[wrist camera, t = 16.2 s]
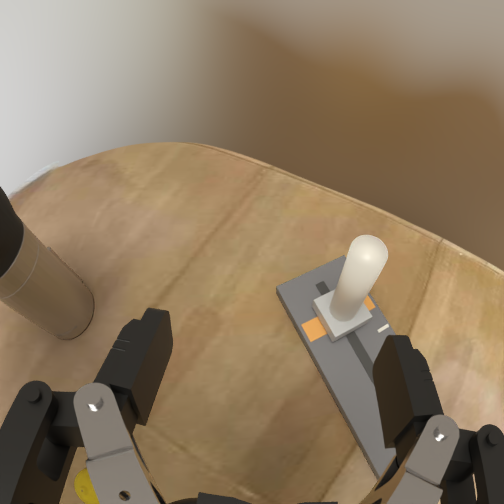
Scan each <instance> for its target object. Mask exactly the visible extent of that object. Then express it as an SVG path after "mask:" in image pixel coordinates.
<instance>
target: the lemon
mask: <svg viewBox="0 0 504 504" xmlns="http://www.w3.org/2000/svg"><path fill="white" fill-rule="evenodd" d="M74 487H75V491H76V493H77V495H78V497H79V498H80V499H81V500H82V501H83V502H84V503H86V504H100V503H99V500H98V498H97V495H96V493H95V490H94V487H93V485H92V482H91V479H90V476H89V473H88V470H87V468H85V469H83V470H82V471H80V472H79V473H78V474H77V476H76V478H75V481H74Z"/></svg>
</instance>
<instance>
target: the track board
mask: <svg viewBox="0 0 504 504" xmlns="http://www.w3.org/2000/svg"><path fill="white" fill-rule="evenodd" d="M345 261H346V257H345V256H344V255H343V256H341V257H339V258H337V259H335V260H333V261H331V262H329V263H326V264H324V265H322V266H320V267H318V268H316V269H314V270H311V271H309V272H307V273H305V274H303V275H301V276H298V277H296V278H294V279H292V280H290V281H288V282H285V283H283V284H281V285H279V286H277V287H276V293H277V295H278V297H279V299H280V301H281V303H282V304H283V306H284V308H285V310H286V312H287V314H288V316H289V317H290V319H291V321H292V323H293V325H294V327H295V328H296V330H297V332H298V334H299V336H300V338H301V339H302V341H303V343H304V345H305V347H306V349H307V351H308V352H309V354H310V356H311V358H312V360H313V362H314V363H315V365H316V367H317V369H318V371H319V373H320V375H321V376H322V378H323V380H324V382H325V384H326V386H327V387H328V389H329V391H330V393H331V395H332V397H333V399H334V400H335V402H336V404H337V406H338V408H339V410H340V411H341V413H342V415H343V417H344V419H345V421H346V423H347V424H348V426H349V428H350V430H351V432H352V434H353V436H354V437H355V439H356V441H357V443H358V445H359V447H360V448H361V450H362V452H363V454H364V456H365V458H366V460H367V461H368V463H369V465H370V467H371V469H372V471H373V473H374V474H375V476H376V478H377V480H379V478H380V477H381V475H382V474H383V472H384V471H385V469H386V468H387V466H388V464H389V463H390V461H391V460H392V458H393V456H394V455H395V454H396V449H395V448H386V449H385V446H384V439H383V432H382V426H381V420H380V414H379V408H378V402H377V397H376V391H375V386H374V381H373V374H372V371H373V364H374V361H375V359H376V357H377V355H378V353H379V351H380V349H381V347H382V345H383V343H384V341H385V339H386V337H387V336H388V335H396V334H395V332H394V331H393V329H392V328H391V326H390V324H389V323H388V321H387V320H386V318H385V316H384V315H383V313H382V312H381V310H380V309H379V307H378V305H377V304H376V302H375V301H374V299H373V298H372V296H371V295H370V293H368V295H367V297H366V299H365V300H364V304H365V305H366V307H367V308H368V310H369V312H370V313H371V315H372V316H373V317H372V318H371V319H370V321H369V322H368V323H366V324H365V325H363V326H361V327H359V328H358V329H356V330H354V331H352V332H350V333H349V334H347V335H345V336H343V337H341V338H340V339H338V340H336V341H334V342H332V341H331V339H330V337H329V335H328V334H327V332H326V330H325V328H324V327H323V325H322V323H321V321H320V320H319V318H318V316H317V314H316V313H315V311H314V309H313V308H312V304H313V300H314V299H316V298H318V297H320V296H322V295H325V294H327V293H329V292H331V291H333V290H335V289H336V287H337V284H338V281H339V278H340V275H341V273H342V270H343V267H344V264H345Z"/></svg>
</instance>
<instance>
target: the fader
mask: <svg viewBox="0 0 504 504" xmlns="http://www.w3.org/2000/svg"><path fill="white" fill-rule="evenodd" d="M387 259H388V250H387V247H386V246H385V244H384V243H383V242H382V241H381V240H380V239H379V238H377V237H375V236H372V235H361V236H358V237H357V238H355V239H354V240H353V242H352V243H351V246H350V249H349V252H348V255H347V258H346V261H345V264H344V267H343V270H342V273H341V275H340V278H339V281H338V284H337V287H336V289H335V290H333V291H331V292H329V293H327V294H325V295H322V296H320V297H318V298H316V299H314V300H313V304H312V308H313V309H314V311H315V313H316V314H317V316H318V318H319V320H320V321H321V323H322V325H323V327H324V328H325V330H326V332H327V334H328V335H329V337H330V339H331V341H332V342H334V341H336V340H338V339H340V338H341V337H343V336H345V335H347V334H349V333H350V332H352V331H354V330H356V329H358V328H359V327H361V326H363V325H365V324H366V323H368V322H369V321H370V319H371V318H372V317H373V316H372V315H371V313H370V312H369V310H368V308H367V307H366V305H365V304H364V300H365V299H366V297H367V295H368V293H369V292H370V290H371V288H372V286H373V285H374V283H375V281H376V279H377V278H378V276H379V274H380V272H381V270H382V269H383V267H384V265H385V263H386V261H387Z"/></svg>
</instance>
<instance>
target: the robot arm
mask: <svg viewBox="0 0 504 504" xmlns="http://www.w3.org/2000/svg"><path fill="white" fill-rule="evenodd" d="M0 301H2V302H3V303H5V304H6V305H7V306H9V307H10V308H12V309H13V310H15V311H16V312H18V313H19V314H21V315H22V316H24V317H25V318H27V319H28V320H30V321H31V322H33V323H35V324H36V325H38V326H39V327H41V328H43V329H44V330H46V331H48V332H49V333H51V334H53V335H54V336H56V337H58V338H60V339H72V338H74V337H76V336H78V335H80V334H81V333H82V332H83V331H84V330H85V329H86V327H87V326H88V324H89V322H90V321H91V318H92V315H93V310H94V301H93V296H92V294H91V292H90V291H89V289H88V288H87V287H86V286H85V285H84V284H83V283H82V279H81V278H80V277H79V276H78V275H77V274H76V273H74V272H73V271H72V270H71V269H70V268H69V267H68V266H67V265H66V264H65V263H64V262H63V261H62V259H61V258H60V257H59V256H58V255H57V254H56V253H55V252H54V251H53V250H52V249H51V248H49V247H47V248H46V247H45V246H44V245H43V244H42V242H41V241H40V240H39V239H38V238H37V237H36V236H35V235H34V234H33V233H32V232H31V231H30V230H29V229H28V227H27V226H26V225H25V224H24V223H23V222H22V221H21V219H20V218H19V217H18V216H17V215H16V213H15V211H14V210H13V208H12V205H11V203H10V201H9V199H8V197H7V196H6V194H5V192H4V191H3V190H2V188H1V187H0ZM112 347H113V348H112V349H111V350H110V352H109V354H108V356H107V358H106V359H105V361H104V363H103V365H102V367H101V369H100V371H99V373H98V375H97V377H96V378H95V380H94V382H93V383H89V384H86V385H84V386H82V387H81V388H80V389H79V390H78V391H77V392H55V391H52V390H51V389H50V387H49V386H48V385H47V384H46V383H44V382H42V381H31V382H29V383H27V384H25V385H24V386H23V387H22V388H21V389H20V391H19V393H18V395H17V397H16V398H15V400H14V402H13V404H12V406H11V408H10V410H9V412H8V414H7V416H6V418H5V420H4V422H3V424H2V426H1V429H0V504H59V502H60V498H61V495H62V492H63V488H64V485H65V482H66V479H67V476H68V473H69V470H70V467H71V464H72V461H73V458H74V455H75V452H76V449H77V447H85V449H86V452H87V456H88V459H87V460H86V466H87V470H88V473H89V476H90V479H91V482H92V485H93V487H94V490H95V493H96V495H97V498H98V500H99V503H100V504H167V503H166V501H165V499H164V497H163V495H162V493H161V492H160V490H159V488H158V486H157V484H156V482H155V481H154V479H153V477H152V475H151V473H150V471H149V469H148V467H147V465H146V463H145V460H144V458H143V456H142V454H141V452H140V449H139V447H138V445H137V442H136V440H135V438H134V435H133V431H134V428H135V425H136V424H140V425H144V426H146V423H147V420H148V417H149V414H150V411H151V409H152V406H153V403H154V400H155V397H156V395H157V392H158V389H159V386H160V383H161V381H162V378H163V375H164V372H165V370H166V367H167V364H168V362H169V359H170V356H171V353H172V347H173V337H172V330H171V322H170V314H169V311H166V310H160V309H154V308H147V310H146V311H145V313H144V315H143V317H142V319H141V320H136V319H133V320H131V321H130V322H129V323H128V324H127V325H125V326H124V327H123V328H122V330H121V332H120V334H119V335H118V337H117V340H116V341H115V343H114V345H113V346H112ZM429 371H430V370H429V367H428V364H427V361H426V359H425V358H424V356H423V355H422V354H421V353H420V351H419V350H418V349H413V347H412V344H411V342H410V339H409V337H408V336H407V335H388V336H387V337H386V339H385V341H384V343H383V345H382V347H381V349H380V351H379V353H378V355H377V357H376V359H375V361H374V364H373V371H372V374H373V381H374V386H375V391H376V397H377V402H378V408H379V414H380V420H381V426H382V432H383V439H384V446H385V449H386V448H395V449H396V454H395V455H394V456H393V458H392V460H391V461H390V463H389V464H388V466H387V468H386V469H385V471H384V472H383V474H382V475H381V477H380V478H379V480H378V481H377V483H376V484H375V486H374V487H373V489H372V490H371V491H370V493H369V494H368V495H367V496H366V497H365V498H364V499H363V500H362V501H361V502H360V503H359V504H437V503H438V501H439V499H440V501H441V504H504V435H503V433H502V431H501V430H500V429H499V428H498V427H497V426H495V425H491V424H488V425H485V426H483V427H482V428H481V429H480V430H478V431H477V432H475V431H469V430H464V429H459V428H458V426H457V424H456V423H455V421H454V420H453V419H451V418H450V417H448V416H446V415H444V413H443V410H442V407H441V403H440V400H439V397H438V394H437V391H436V388H435V384H434V381H432V380H433V378H432V375H431V373H430V372H429ZM473 474H474V475H475V482H476V488H477V501H476V495H475V488H474V481H473ZM169 504H251V503H248V502H245V501H242V500H239V499H236V498H233V497H225V496H219V495H212V494H206V493H201V492H199V494H198V498H189V499H182V500H178V501H175V502H172V503H169ZM299 504H338V502H304V503H299Z"/></svg>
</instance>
